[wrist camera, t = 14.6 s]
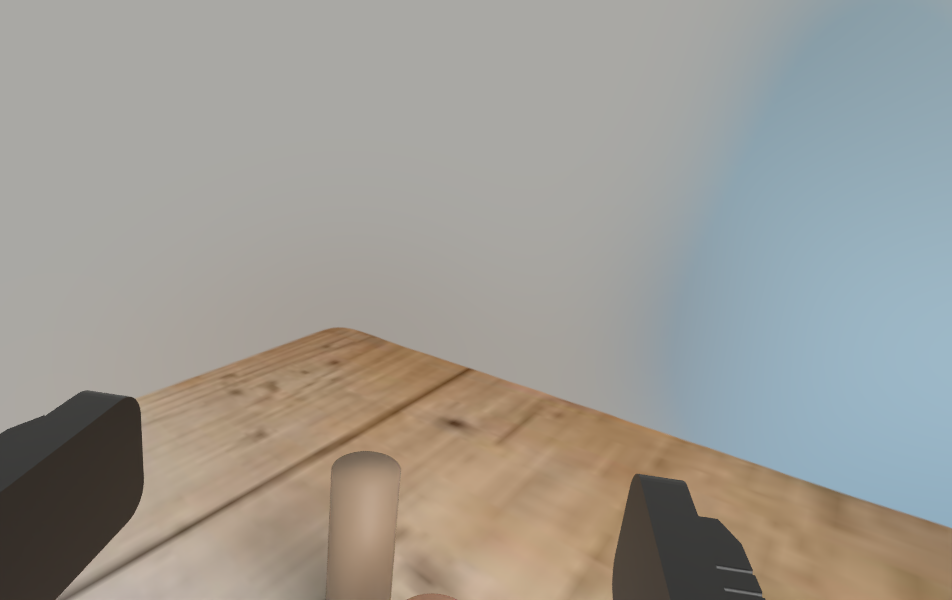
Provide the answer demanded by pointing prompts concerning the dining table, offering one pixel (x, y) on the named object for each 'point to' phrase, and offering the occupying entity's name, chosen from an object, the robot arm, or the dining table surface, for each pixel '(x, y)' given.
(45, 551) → the robot arm
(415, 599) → the wooden peg
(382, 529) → the board
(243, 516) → the dining table surface
